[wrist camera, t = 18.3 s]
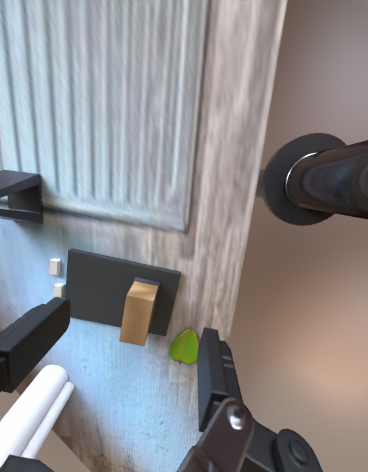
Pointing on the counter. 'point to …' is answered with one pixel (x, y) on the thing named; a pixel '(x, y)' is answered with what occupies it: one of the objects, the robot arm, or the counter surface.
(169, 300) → the memo board
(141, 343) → the eraser
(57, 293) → the small white block
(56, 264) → the small white block
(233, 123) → the counter surface
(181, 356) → the decorative leaf
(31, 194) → the phone stand
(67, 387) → the vase
